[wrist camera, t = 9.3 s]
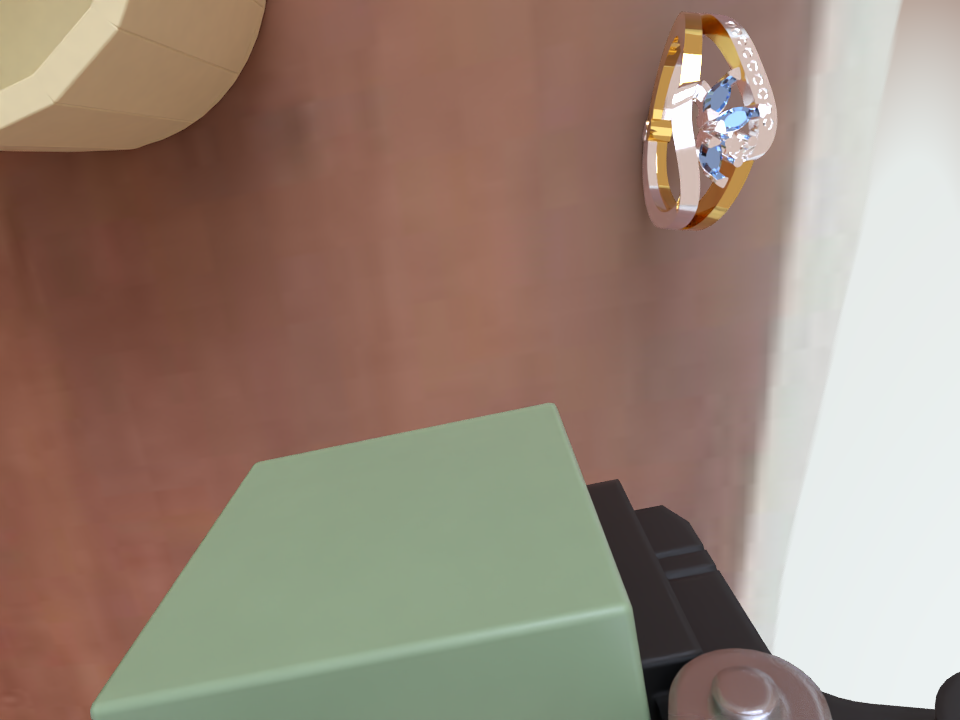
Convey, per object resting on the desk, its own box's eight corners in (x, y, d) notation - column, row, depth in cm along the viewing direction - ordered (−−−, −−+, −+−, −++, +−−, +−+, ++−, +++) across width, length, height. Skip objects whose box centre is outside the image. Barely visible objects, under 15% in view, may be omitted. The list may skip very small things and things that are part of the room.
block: (336, 698, 11) (254, 1054, 7) (253, 460, 9) (80, 710, 5) (601, 648, 11) (694, 979, 6) (554, 399, 9) (633, 606, 5)
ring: (677, 222, 27) (762, 248, 19) (601, 216, 27) (657, 239, 19) (708, 40, 25) (817, -12, 17) (627, 31, 25) (701, -25, 17)
